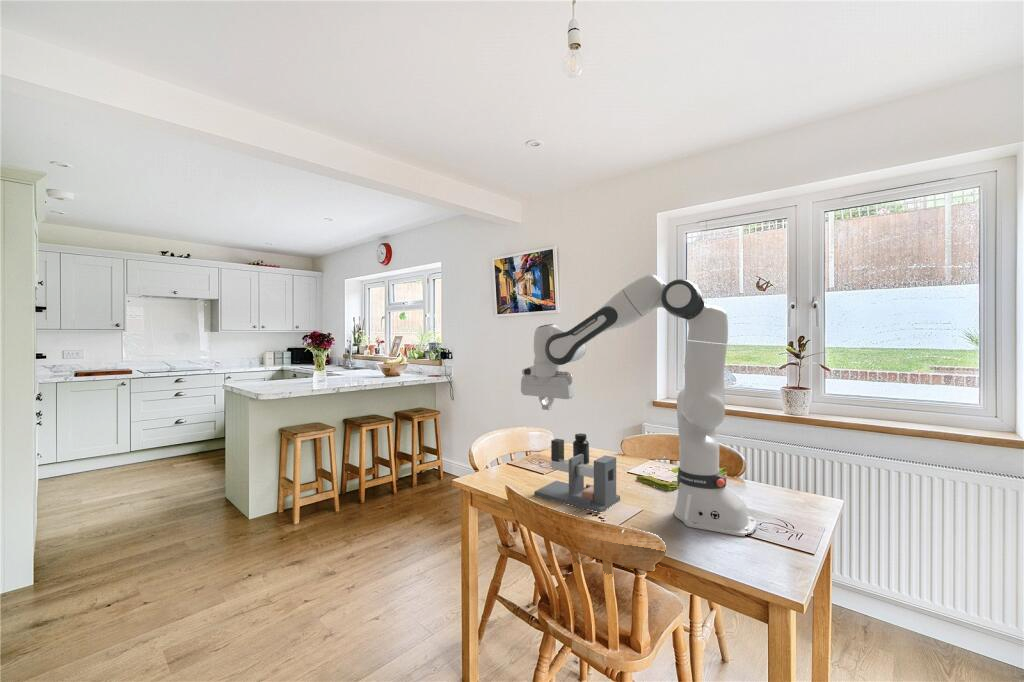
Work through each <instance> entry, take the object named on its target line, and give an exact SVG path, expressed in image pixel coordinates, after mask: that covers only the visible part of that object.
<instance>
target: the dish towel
mask: <svg viewBox="0 0 1024 682" xmlns="http://www.w3.org/2000/svg"><path fill="white" fill-rule="evenodd" d="M679 467H680V466H677V467H675V468H674V467H673V468H671V469H672V470H670V469H669V470H670V471H672V472H674V473H677V472H678V468H679ZM719 471H720V472H721V473H722V474H723V475H724V476H725V475H726V474H727V475H728V471H727V467H723V468H722V467H719ZM676 477H677V476H676ZM636 481H638V482H640V481H641V482H640V483H643V484H645V483H646V485H648V484H649V485H648V486H651V487H653V486H655V487H654V488H656V487H657V488H656V489H659V488H661V489H660V490H662V489H663V490H662V491H664V490H666V491H665V492H667V491H669V493H671V492H674V490H675V491H678V490H679V486H678V480H677V481H672V482H666V481H661V480H658V479H656V478H654V477H652V476H645V475H637V476H636ZM677 489H678V490H677ZM670 491H671V492H670Z"/></svg>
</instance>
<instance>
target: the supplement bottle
mask: <svg viewBox="0 0 1024 682" xmlns="http://www.w3.org/2000/svg"><path fill="white" fill-rule="evenodd" d="M574 439H575V440H573V442H572V457H574V456H577V455H579V454H584V464H586V465H589V463H590V442H589V441H588V440H587V434H586V433H575V434H574Z"/></svg>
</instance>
